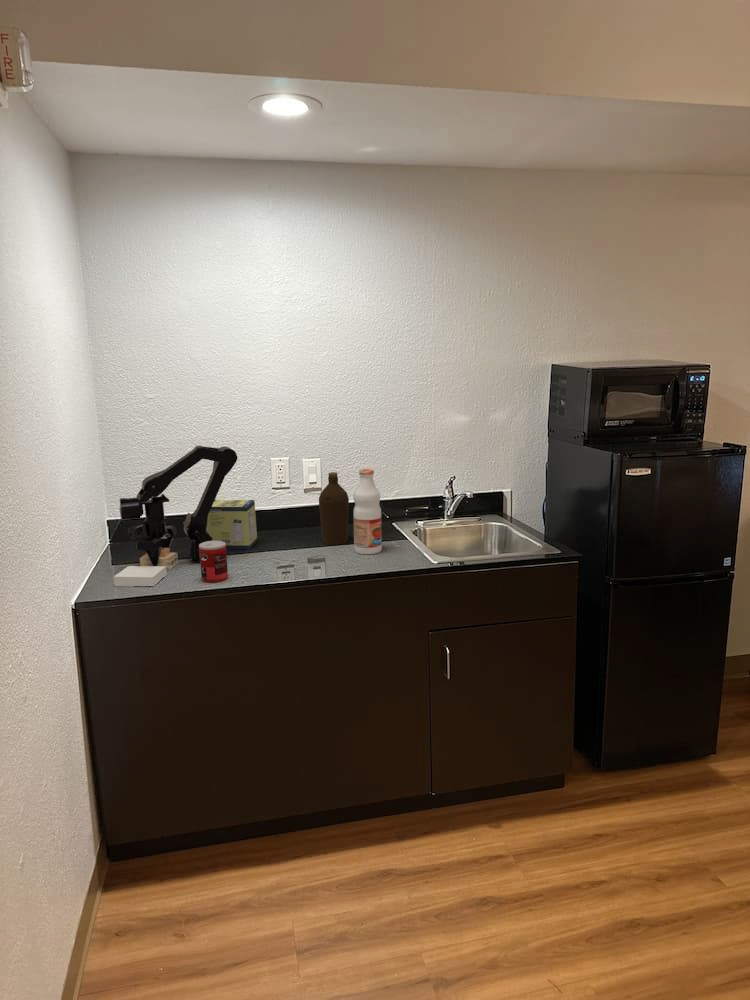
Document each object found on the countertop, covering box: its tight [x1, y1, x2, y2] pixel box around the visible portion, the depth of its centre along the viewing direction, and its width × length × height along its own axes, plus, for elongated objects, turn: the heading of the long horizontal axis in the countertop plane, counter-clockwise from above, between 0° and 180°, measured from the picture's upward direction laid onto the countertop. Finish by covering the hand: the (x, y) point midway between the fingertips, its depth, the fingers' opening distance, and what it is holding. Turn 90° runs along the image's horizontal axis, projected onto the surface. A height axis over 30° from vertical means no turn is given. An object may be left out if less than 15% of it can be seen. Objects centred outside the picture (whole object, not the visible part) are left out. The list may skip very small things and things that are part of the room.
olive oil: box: [318, 471, 350, 546], centre depth 242 cm, size 11×11×25 cm
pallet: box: [139, 552, 179, 570], centre depth 220 cm, size 10×6×4 cm, turn 85°
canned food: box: [199, 541, 229, 583], centre depth 207 cm, size 8×8×11 cm
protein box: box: [206, 499, 258, 551], centre depth 241 cm, size 10×16×16 cm
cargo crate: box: [147, 547, 171, 557], centre depth 220 cm, size 6×4×2 cm, turn 85°
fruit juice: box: [352, 468, 383, 555], centre depth 230 cm, size 9×9×28 cm
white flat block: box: [113, 565, 168, 587], centre depth 207 cm, size 12×10×3 cm
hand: (159, 563), depth 221 cm, fingers closed on pallet, 6 cm apart
